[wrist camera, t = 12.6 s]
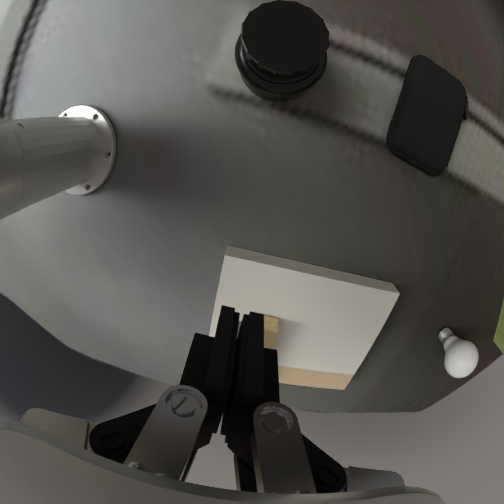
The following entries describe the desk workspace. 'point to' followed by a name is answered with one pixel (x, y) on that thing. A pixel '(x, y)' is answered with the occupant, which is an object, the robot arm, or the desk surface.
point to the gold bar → (270, 331)
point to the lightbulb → (458, 354)
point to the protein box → (500, 331)
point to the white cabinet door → (307, 313)
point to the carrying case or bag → (427, 116)
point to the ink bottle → (282, 50)
